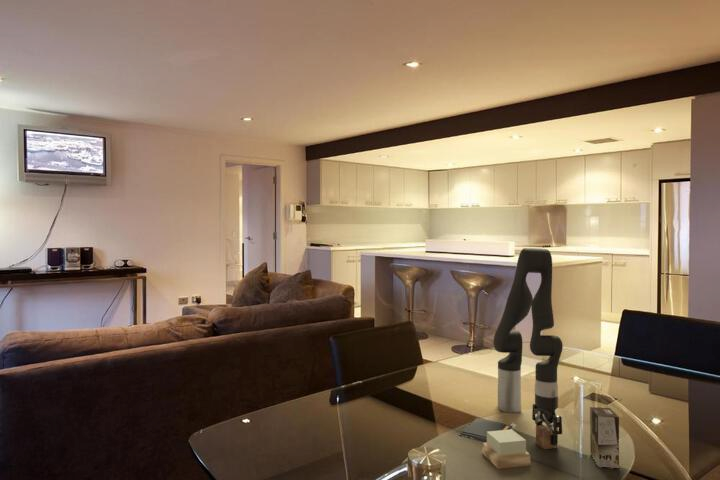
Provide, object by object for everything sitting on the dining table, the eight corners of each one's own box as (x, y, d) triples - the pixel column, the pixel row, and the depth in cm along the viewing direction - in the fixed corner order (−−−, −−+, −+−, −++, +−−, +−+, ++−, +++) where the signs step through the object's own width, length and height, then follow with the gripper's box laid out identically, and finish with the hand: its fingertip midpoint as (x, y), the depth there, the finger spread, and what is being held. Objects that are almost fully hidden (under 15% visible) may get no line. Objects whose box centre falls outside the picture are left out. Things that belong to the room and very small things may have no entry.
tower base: (482, 454, 159) (482, 442, 159) (512, 451, 161) (512, 439, 161) (498, 470, 148) (498, 457, 148) (530, 466, 150) (530, 454, 150)
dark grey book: (476, 415, 190) (514, 423, 181) (476, 419, 190) (514, 428, 181) (455, 431, 174) (495, 441, 165) (455, 436, 174) (495, 446, 165)
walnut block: (535, 443, 167) (535, 425, 167) (548, 441, 168) (548, 424, 168) (543, 449, 162) (543, 431, 162) (557, 447, 163) (557, 430, 163)
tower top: (486, 443, 158) (486, 431, 158) (511, 441, 160) (511, 429, 160) (499, 455, 149) (499, 442, 149) (526, 452, 151) (525, 440, 151)
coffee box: (620, 469, 147) (619, 417, 147) (597, 467, 148) (597, 415, 148) (610, 456, 156) (610, 407, 156) (589, 454, 157) (589, 406, 157)
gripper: (525, 387, 171) (525, 432, 171) (548, 400, 157) (548, 449, 157) (544, 386, 173) (544, 431, 172) (568, 398, 159) (569, 447, 158)
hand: (546, 439), depth 165 cm, fingers open, 8 cm apart
